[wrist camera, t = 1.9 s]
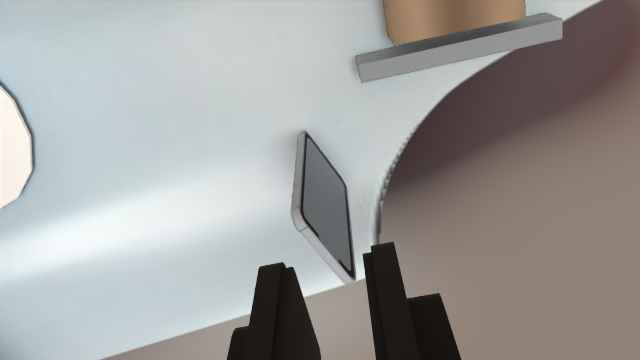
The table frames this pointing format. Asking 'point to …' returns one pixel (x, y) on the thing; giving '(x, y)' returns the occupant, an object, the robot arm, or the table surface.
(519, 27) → the bar
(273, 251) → the table surface
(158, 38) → the table surface
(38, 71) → the table surface
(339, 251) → the smartphone
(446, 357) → the robot arm
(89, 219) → the table surface
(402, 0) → the block
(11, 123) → the desk lamp
